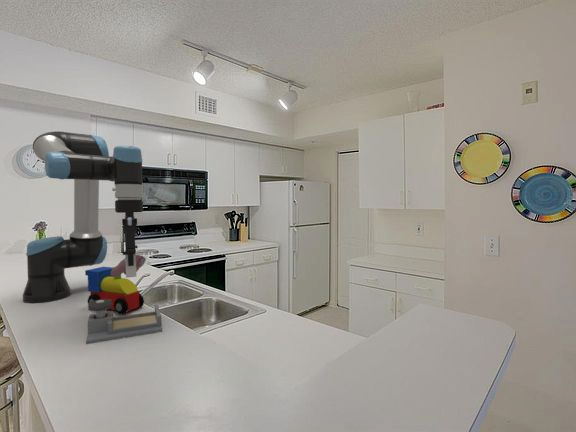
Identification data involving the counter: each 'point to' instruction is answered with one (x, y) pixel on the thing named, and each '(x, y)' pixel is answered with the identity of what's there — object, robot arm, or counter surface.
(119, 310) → the toy train
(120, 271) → the video game controller
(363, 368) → the counter surface
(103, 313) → the wheel cap
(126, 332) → the grey tray
